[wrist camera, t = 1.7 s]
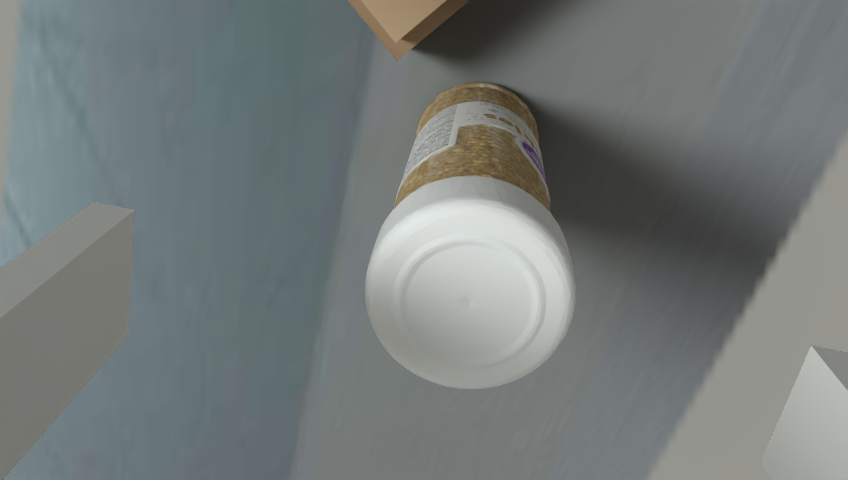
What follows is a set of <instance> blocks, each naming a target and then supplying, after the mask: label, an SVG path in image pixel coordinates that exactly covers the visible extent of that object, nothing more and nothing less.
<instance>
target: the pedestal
mask: <svg viewBox="0 0 848 480" xmlns="http://www.w3.org/2000/svg"><path fill="white" fill-rule="evenodd" d="M348 1H349V3H350V4H351V5H352V6H353V8H354V9H355V10H356V11H357V12H358V14H359V15H360V16H361V17H362V19H363V20H364V21H365V22H366V24H367V25H368V26H369V27H370V28H371V30H372V31H373V32H374V33H375V35H376V36H377V37H378V38H379V40H380V41H381V42H382V43H383V45H384V46H385V47H386V48H387V49H388V51H389V52H390V53H391V54H392V56H393V57H394V58H395V59H396V61H398V60H399V59H400V58H401V57H402V56H404V55H405V54H406V53H407V52H408V51H410V50H411V49H412V48H413V47H415V46H416V45H417V44H418V43H419V42H421V41H422V40H423V39H424V38H425V37H427V36H428V35H429V34H430V33H431V32H433V31H434V30H435V29H436V28H437V27H439V26H440V25H441V24H442V23H443V22H445V21H446V20H447V19H448V18H449V17H451V16H452V15H453V14H454V13H455V12H457V11H458V10H459V9H460V8H461V7H463V6H464V5H465V4H466V3H467V2H469V1H470V0H348Z"/></svg>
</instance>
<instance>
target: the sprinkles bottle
mask: <svg viewBox="0 0 848 480" xmlns="http://www.w3.org/2000/svg"><path fill="white" fill-rule="evenodd" d="M575 299H576V288H575V278H574V272H573V267H572V261H571V257H570V253H569V249H568V246H567V243H566V240H565V237H564V235H563V233H562V230H561V228H560V226H559V225H558V223H557V222H556V220H555V219H554V217H553V216H552V214H551V211H550V197H549V192H548V187H547V182H546V178H545V173H544V167H543V162H542V156H541V152H540V148H539V135H538V130H537V125H536V121H535V119H534V117H533V115H532V114H531V112H530V110H529V108H528V106H527V105H526V104H525V103H524V102H523V101H522V100H521V99H520V98H519V97H518V96H516V95H515V94H514V93H513V92H511V91H509V90H507V89H505V88H503V87H501V86H498V85H496V84H493V83H486V82H471V83H465V84H460V85H457V86H455V87H452V88H450V89H448V90H446V91H444V92H442V93H440V94H439V95H438V96H437V97H436V98H435V99H434V101H433V102H432V103H430V104H429V105H428V107H427V108H426V110H425V111H424V113H423V115H422V116H421V119H420V121H419V125H418V128H417V133H416V140H415V142H414V145H413V148H412V151H411V153H410V156H409V159H408V162H407V165H406V169H405V172H404V175H403V178H402V181H401V184H400V187H399V190H398V193H397V197H396V200H395V204H394V209H393V211H392V212H391V213H390V214H389V216H388V217H387V219H386V220H385V222H384V224H383V225H382V227H381V230H380V232H379V235H378V237H377V240H376V243H375V246H374V249H373V252H372V255H371V259H370V262H369V266H368V270H367V275H366V283H365V300H366V307H367V313H368V316H369V319H370V322H371V325H372V327H373V329H374V331H375V333H376V335H377V337H378V339H379V341H380V342H381V344H382V345H383V347H384V348H385V349H386V350H387V351H388V352H389V354H390V355H391V356H392V357H393V358H394V359H395V360H397V361H398V362H399V363H400V364H401V365H402V366H404V367H405V368H407V369H408V370H409V371H411V372H412V373H414V374H416V375H418V376H420V377H422V378H424V379H426V380H428V381H431V382H434V383H437V384H440V385H443V386H448V387H453V388H462V389H482V388H491V387H495V386H499V385H503V384H507V383H510V382H513V381H515V380H518V379H520V378H522V377H524V376H526V375H527V374H529V373H530V372H532V371H533V370H535V369H536V368H538V367H539V366H540V365H541V364H543V363H544V362H545V361H546V360H547V359H548V358H549V357H550V356H551V355H552V354H553V353H554V352H555V350H556V349H557V348H558V346H559V345H560V343H561V342H562V340H563V339H564V337H565V335H566V333H567V331H568V329H569V327H570V324H571V321H572V317H573V313H574V308H575Z"/></svg>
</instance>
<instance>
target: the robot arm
mask: <svg viewBox="0 0 848 480" xmlns="http://www.w3.org/2000/svg"><path fill="white" fill-rule="evenodd" d="M133 225H134V210H131V209H126V208H121V207H116V206H111V205H106V204H101V203H96V202H94V203H93V204H91V205H90V206H88V207H87V208H85V209H84V210H83V211H81V212H80V213H78V214H77V215H75V216H74V217H73V218H71V219H70V220H68V221H67V222H65V223H64V224H63V225H61V226H60V227H58V228H57V229H55V230H54V231H53V232H51V233H50V234H48V235H47V236H46V237H44V238H43V239H41V240H40V241H38V242H37V243H36V244H34V245H33V246H31V247H30V248H28V249H27V250H26V251H24V252H23V253H21V254H20V255H18V256H17V257H16V258H14V259H13V260H11V261H10V262H8V263H7V264H6V265H4V266H3V267H1V268H0V480H3V479H4V478H5V477H6V475H7V474H8V473H9V472H10V471H11V470H12V469H13V467H14V466H15V465H16V464H17V463H18V462H19V461H20V459H21V458H22V457H23V456H24V455H25V454H26V452H27V451H28V450H29V449H30V448H31V447H32V446H33V444H34V443H35V442H36V441H37V440H38V439H39V438H40V436H41V435H42V434H43V433H44V432H45V431H46V429H47V428H48V427H49V426H50V425H51V424H52V423H53V421H54V420H55V419H56V418H57V417H58V416H59V415H60V413H61V412H62V411H63V410H64V409H65V408H66V406H67V405H68V404H69V403H70V402H71V401H72V400H73V398H74V397H75V396H76V395H77V394H78V393H79V392H80V390H81V389H82V388H83V387H84V386H85V385H86V383H87V382H88V381H89V380H90V379H91V378H92V377H93V375H94V374H95V373H96V372H97V371H98V370H99V369H100V367H101V366H102V365H103V364H104V363H105V362H106V360H107V359H108V358H109V357H110V356H111V355H112V354H113V352H114V351H115V350H116V349H117V348H118V347H119V346H120V344H121V343H122V342H123V341H124V340H125V339H126V337H127V336H128V325H129V305H130V285H131V265H132V245H133ZM761 462H762V464H763V466H764V468H765V470H766V472H767V474H768V476H769V478H770V479H771V480H848V353H846V352H841V351H836V350H831V349H826V348H821V347H816V346H811V348H810V349H809V352H808V354H807V357H806V359H805V361H804V363H803V366H802V368H801V371H800V373H799V375H798V377H797V380H796V382H795V384H794V387H793V389H792V391H791V394H790V396H789V398H788V400H787V403H786V405H785V407H784V409H783V412H782V414H781V417H780V419H779V421H778V424H777V426H776V428H775V431H774V433H773V435H772V437H771V440H770V442H769V444H768V446H767V449H766V451H765V453H764V456H763V458H762V460H761Z"/></svg>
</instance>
